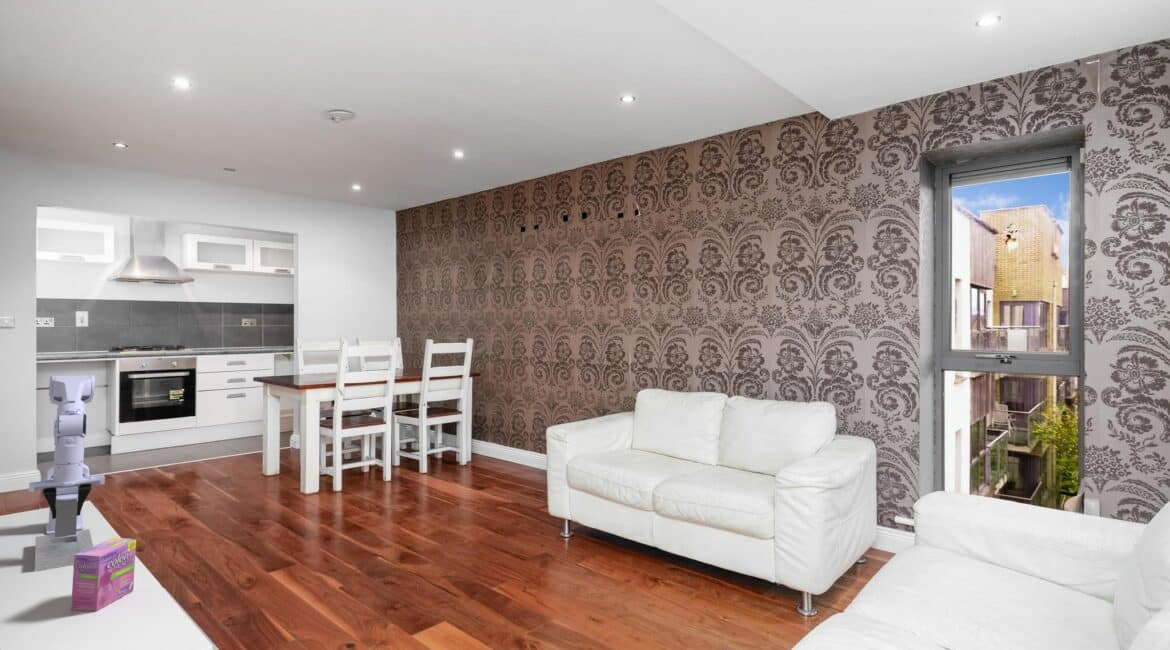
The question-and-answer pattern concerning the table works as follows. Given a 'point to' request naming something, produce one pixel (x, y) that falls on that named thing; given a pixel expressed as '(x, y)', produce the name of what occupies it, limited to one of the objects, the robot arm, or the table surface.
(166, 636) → the table surface
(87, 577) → the box
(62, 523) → the grey rectangular block
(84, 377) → the robot arm
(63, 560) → the plate
